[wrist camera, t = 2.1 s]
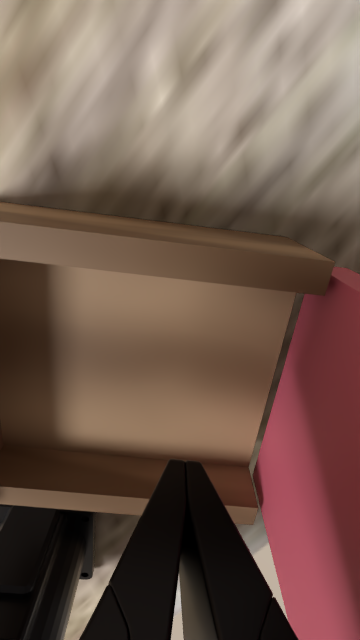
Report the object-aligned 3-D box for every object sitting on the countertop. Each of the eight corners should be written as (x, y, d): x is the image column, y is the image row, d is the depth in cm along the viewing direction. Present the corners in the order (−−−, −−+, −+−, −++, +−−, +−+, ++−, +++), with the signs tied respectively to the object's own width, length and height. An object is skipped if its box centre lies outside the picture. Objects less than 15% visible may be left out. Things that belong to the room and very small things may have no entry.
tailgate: (313, 263, 11) (542, 404, 4) (370, 271, 11) (689, 418, 4) (252, 475, 15) (315, 730, 8) (294, 479, 15) (393, 734, 8)
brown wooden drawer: (235, 442, 17) (258, 550, 12) (10, 421, 17) (-64, 525, 12) (285, 236, 13) (353, 270, 8) (-15, 200, 12) (-150, 210, 7)
